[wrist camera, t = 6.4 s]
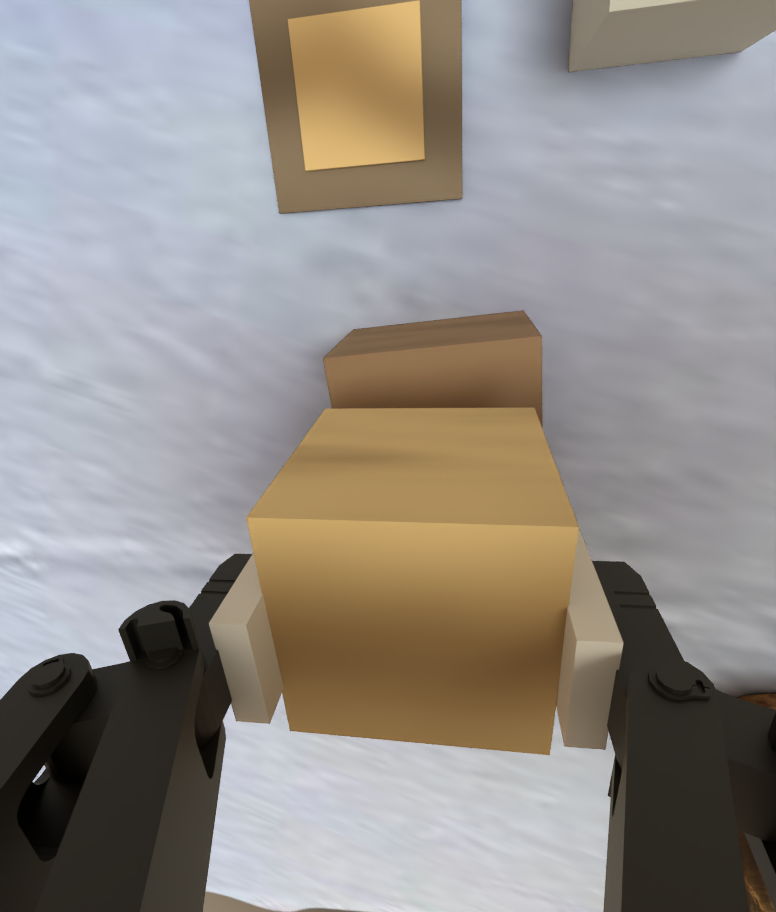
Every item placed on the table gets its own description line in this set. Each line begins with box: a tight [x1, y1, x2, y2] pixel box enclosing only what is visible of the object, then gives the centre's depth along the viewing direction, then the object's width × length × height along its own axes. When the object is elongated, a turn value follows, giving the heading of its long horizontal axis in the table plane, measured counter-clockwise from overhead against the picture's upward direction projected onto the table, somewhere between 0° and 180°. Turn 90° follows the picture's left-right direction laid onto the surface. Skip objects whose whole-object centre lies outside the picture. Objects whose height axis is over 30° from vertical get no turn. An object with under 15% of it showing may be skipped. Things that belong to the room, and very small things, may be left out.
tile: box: [249, 0, 462, 213], centre depth 20 cm, size 8×8×1 cm
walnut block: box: [323, 310, 542, 427], centre depth 22 cm, size 8×8×6 cm
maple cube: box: [246, 408, 579, 755], centre depth 13 cm, size 6×6×6 cm
